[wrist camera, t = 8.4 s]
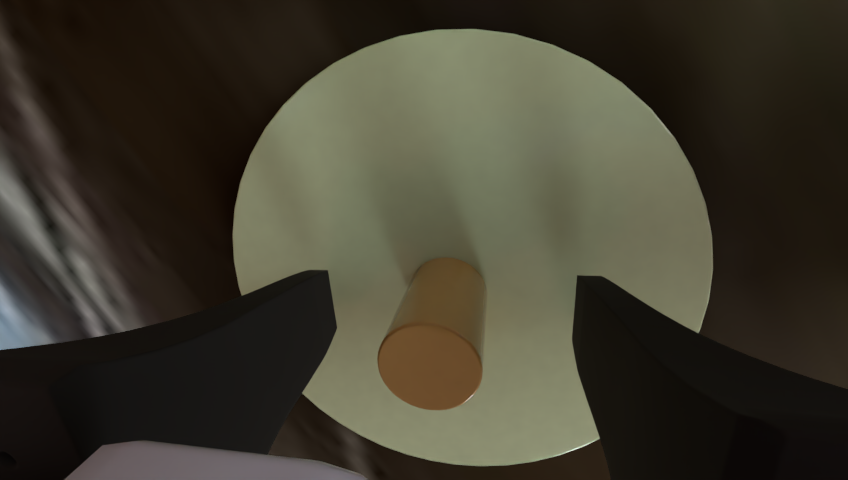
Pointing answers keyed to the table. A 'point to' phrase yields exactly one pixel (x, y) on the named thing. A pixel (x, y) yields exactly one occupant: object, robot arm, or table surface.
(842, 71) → the table surface
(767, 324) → the table surface
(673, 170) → the lid
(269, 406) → the robot arm
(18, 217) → the table surface
